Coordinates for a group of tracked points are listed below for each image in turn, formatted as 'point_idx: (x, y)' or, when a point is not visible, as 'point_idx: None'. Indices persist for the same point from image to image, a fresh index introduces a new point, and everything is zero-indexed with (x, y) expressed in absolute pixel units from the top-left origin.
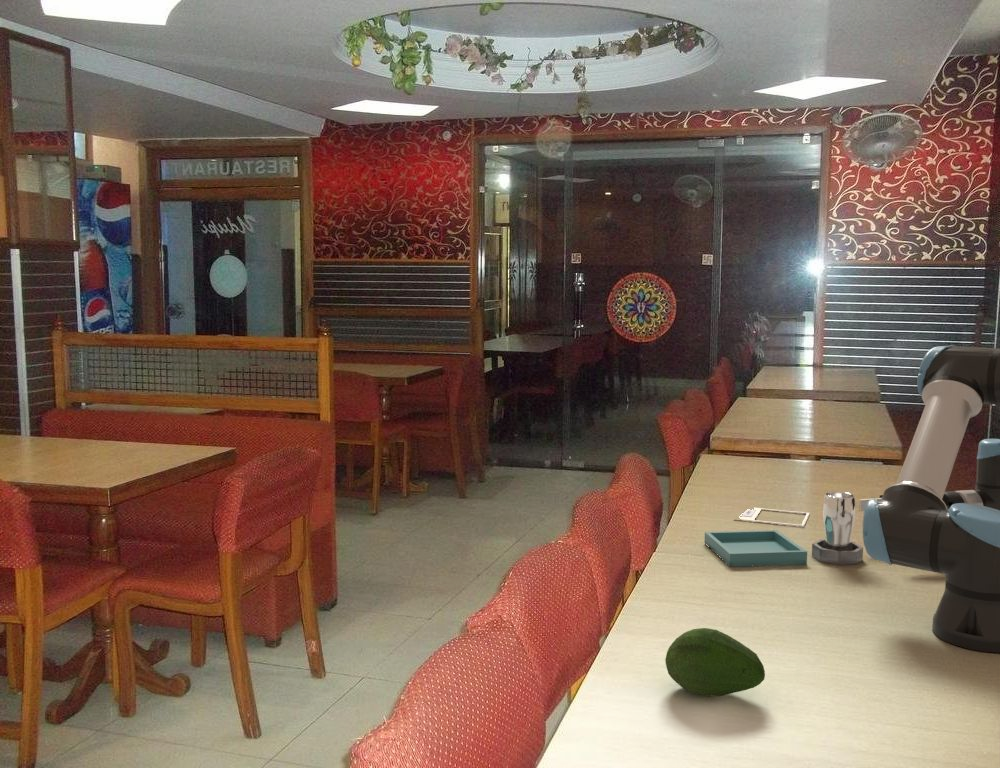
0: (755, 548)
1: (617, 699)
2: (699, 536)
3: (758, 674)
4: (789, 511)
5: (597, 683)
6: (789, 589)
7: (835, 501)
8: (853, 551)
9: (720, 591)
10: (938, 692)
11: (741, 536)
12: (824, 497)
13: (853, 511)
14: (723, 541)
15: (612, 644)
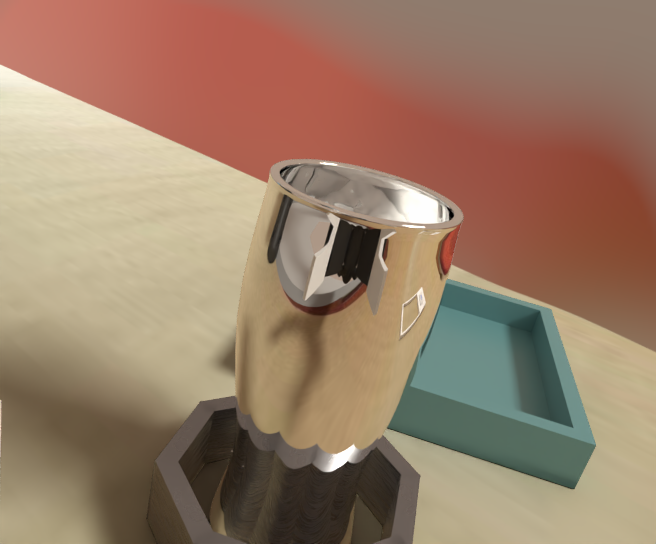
0: (439, 356)
1: (6, 79)
2: (623, 372)
3: None
4: None
5: (47, 88)
6: (110, 252)
7: (306, 183)
8: (167, 451)
9: (193, 207)
10: None
11: (547, 370)
12: (405, 203)
13: (251, 275)
14: (526, 347)
15: (115, 116)
